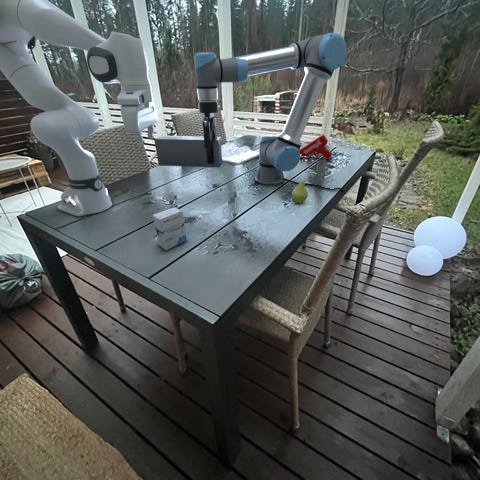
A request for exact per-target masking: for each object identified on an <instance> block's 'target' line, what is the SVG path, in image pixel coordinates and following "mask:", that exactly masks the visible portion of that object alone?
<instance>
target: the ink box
mask: <svg viewBox="0 0 480 480" xmlns="http://www.w3.org/2000/svg"><path fill="white" fill-rule="evenodd" d="M152 219H153V224H154V229H155V234H156V237H157V243H158V246H160V248H162V249H164V250H165V251H168V250H170V249H173V248H174V247H176V246H178V245H181V244H182V243H184V242H187V234H186V227H185V221H184V220H185V219H184V214H183V210H181V209H180V208H177V207H174V206H173V207H171V208H168V209H164V210H163V211H160V212H156V213H154V214H152Z"/></svg>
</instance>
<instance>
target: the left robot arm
mask: <svg viewBox="0 0 480 480" xmlns="http://www.w3.org/2000/svg"><path fill="white" fill-rule="evenodd" d="M39 41H42V42H43V43H46V44H48V45H52V46H56V47H57V46H58V47H66V48H72V49H78V50H82V51H86V52H87V54H86V64H87V69H88V70H89V73H90V74H91V76H92V77H93V78H94V79H95V80H96V81H98V82H99V83H102V84H120V88H121V90H120V92H119V94H118V95H117V96H116V102H117V104H118V106H120V115H121V119H122V123H123V127H124V130H125V131H126V132H127V133H128V134H133V136H134V138H135V140H136V142H137V145H138V146H139V147H143V146H145V139H144V138H143V132H142V131H144V130H146V129H147V133H146V134H147V135H146V136H147V139H148V140H154V139H155V134H154V133H155V124H158V121H159V117H158V111H157V108H156V107H157V106H156V103H155V100H154V96H153V90H152V89H153V88H152V83H151V81H150V77H149V65H148V57H147V54H146V49H145V46H144V45H145V44H144V43H143V40H142V38H141V37H140V35H138V34H137V33H136V32H132V31H127V30H121V29H114V30H112V31H111V33H110V35H109V37H105V36H104V35H101V34H100V33H98V32H97V31H95V30H93V29H92V28H90V27H88V26H87V25H84V24H83V23H81V22H80V21H79V20H78V19H75V18H74V17H72V16H71V15H70V14H68V13H67V12H65V11H64V10H62V9H61V8H59V7H58V6H57V5H55V4H54V3H52V2H51V1H50V0H0V71H1V73H2V74H3V75H4V76H5V78H6V79H7V80H8V82H9V83H10V84H11V85H12V86H13V87H14V89H15V90H16V91H17V92H18V93H19V95H21V97H22V98H23V99H24V100H25V101H26V102H27V104H29V105H30V106H31V107H33V108H35V109H39V110H42V111H44V112H41V113H39V114H37V115H35V116H33V117H32V118H31V120H30V130H31V132H32V134H33V136H34V137H35V139H37V140H38V141H39V142H40V143H42V144H43V145H45V146H47V147H49V148H51V150H53V151H54V152H55V154H57V155H58V156H59V158H60V159H61V161H62V163H63V165H64V168H65V171H66V173H67V175H68V177H67V178H65V179H64V180H65V182H68V185H67V188H66V189H65V190H64V191H63V192H61V194H60V200H61V203H60V204H59V205H57V210H58V211H61V212H63V213H67V214H69V215H73V216H74V217H75V216H76V217H83V216H87V215H93V214H94V215H95V214H97V213H98V214H99V213H101V212H104V211H106V210H108V209H110V208H112V206H113V202H112V198H111V197H110V196H109V193H108V188H106V186H105V184H104V183H103V177H102V175H101V173H100V171H99V169H98V165H97V161H96V158H95V155H94V154H93V153H91V152H90V151H88V150H86V149H83V147H82V145H81V144H80V142H79V140H82V139H85V138H89V137H91V136H93V135H94V134H95V133H97V132H98V131H99V129H100V121H99V118H98V116H97V114H96V113H95V112H94V111H93V110H92V109H91V108H88V107H86V106H83V105H81V104H79V103H78V102H76V101H75V100H73V99H72V98H71V97H69V96H68V95H67V94H65V93H64V92H63V91H62V90H61V89H59V87H57V86H56V84H55V83H54V82H53V81H52V80H51V79H50V78H49V77H48V75H47V74H46V73H45V72H44V71H43V69H42V68H41V67H40V66H39V65H38V63H37V62H36V61H35V60H34V59H33V57H32V56H31V55H30V53H29V50H35V48H36V46H37V43H38V42H39Z"/></svg>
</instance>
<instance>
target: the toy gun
mask: <svg viewBox="0 0 480 480" xmlns="http://www.w3.org/2000/svg"><path fill="white" fill-rule="evenodd" d="M328 142H329V139H328V138H327V137H326V136H325V134H324V133H323V134H321V135H320V136H318V137H316V138H314V139H313V140H311V141H310V142H308V143H306V145H304V146H303V147H300V150H299V152H300V157H301V156H306V157H301V158H302V159H306V158H307V157H309V156H311V155H313V156H318V155H319V154H320V155H322V157H324V158H325V161H327V160H328V159H326V158H329V157H330V159H331V158H332V155H333V153H332V151H331V150H329V149H328V148H327V147H326V145H328Z"/></svg>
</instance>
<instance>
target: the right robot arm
mask: <svg viewBox="0 0 480 480" xmlns="http://www.w3.org/2000/svg"><path fill="white" fill-rule="evenodd" d="M347 52H348V47H347V41H346V40H345V37H343V36H342V34H340V33H337V32H328V33H325V34H319V35H313V36H310V37H308V38H306V39H302V40H299V41H295V42H292V43H290V45H288V46H287V47H286V46H285V47H280V48H275V49H274V48H273V49H270V50H265V51H258V52H253V53H249V54H245V55H238V56H234V57H227V58H217V57H216V53H215V52H212V51H209V52H208V51H206V52H205V51H204V52H196V53H195V54H194V70H195V79H196V90H197V91H196V92H195V94H196V95H197V98H198V103H197V104H198V112H199V113H200V114H204V115H203V116H204V117H203V119H202V122H201V123H202V130H203V137H204V148H206V152H207V164H214V155H213V147H212V137H218V132H217V115H215V114H216V113H218V112H219V102H218V101H217V100H219V95H218V94H219V93H218V84H221V83H239V84H240V83H244V82H246V81H247V80H248V78H249V77H250V76H256V75H261V74H266V73H271V72H276V71H281V70H285V69H291V70H293V71H295V70H301V69H302V70H303V69H304V73H305V75H304V78H303V80H302V83H301V85H300V88H299V90H298V92H297V95H296V98H295V100H294V102H293V105H292V107H291V110H290V112H289V115H288V117H287V119H286V123H285V124H284V127H283V130H282V132H281V133H279V134H266V135H265V134H263V135H261V136H260V138H259V143H258V145H259V151H258V152H259V156H258V157H259V158H258V167H257V171H256V172H255V177H254V181H255V183H258V184H259V185H262V186H263V185H264V186H279V185H281V184H283V183H284V181H286V182H289V183H292V184H295V185H298V184H299V183H300V182H298V181H294V180H291V179H288V178H285V175H284V172H290V171H291V170H294V169H295V168H296V167H297V166H298V165H299V163H300V161H301V155H300V152H299V150H300V149H301V148H302V145H303V144H302V141H301V139H302V136H303V134H304V132H305V129H306V127H307V125H308V123H309V120H310V118H311V116H312V113H313V111H314V109H315V107H316V104H317V101H318V99H319V97H320V94H321V92H322V90H323V88H324V86H325V83H326V82H327V81H329V80H331V78H332V76H333V74H334V72H335V70H337V69H338V68H340V67H341V66H342V65H343V64H344V62H345V60H346V58H347V54H348V53H347ZM314 184H316V183H308V182H307V183H306V182H305V186H313V187H317V188H320V189H324V190H327V191H336V190H337V191H341V192H345V190H344V189H343V188H342V187H333V188H334V189H330V188H331V187H327V188H325V187H326V186H324V187H322V186H323V185H321V186H319V185H320V184H316V185H314Z"/></svg>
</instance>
